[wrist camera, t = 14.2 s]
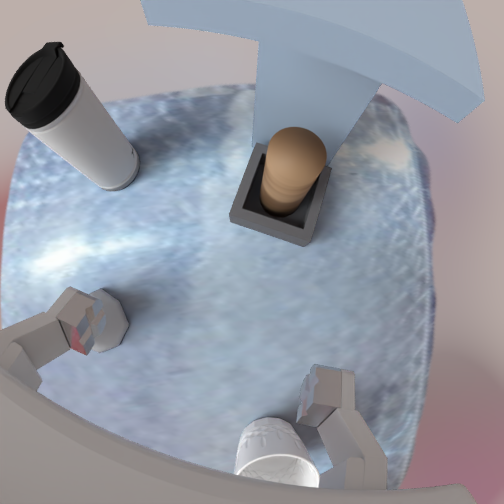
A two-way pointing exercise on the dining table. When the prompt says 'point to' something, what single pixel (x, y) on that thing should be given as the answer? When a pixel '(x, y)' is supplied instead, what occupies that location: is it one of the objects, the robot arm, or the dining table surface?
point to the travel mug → (70, 118)
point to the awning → (341, 57)
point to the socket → (285, 228)
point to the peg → (290, 169)
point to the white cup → (275, 454)
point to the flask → (110, 322)
